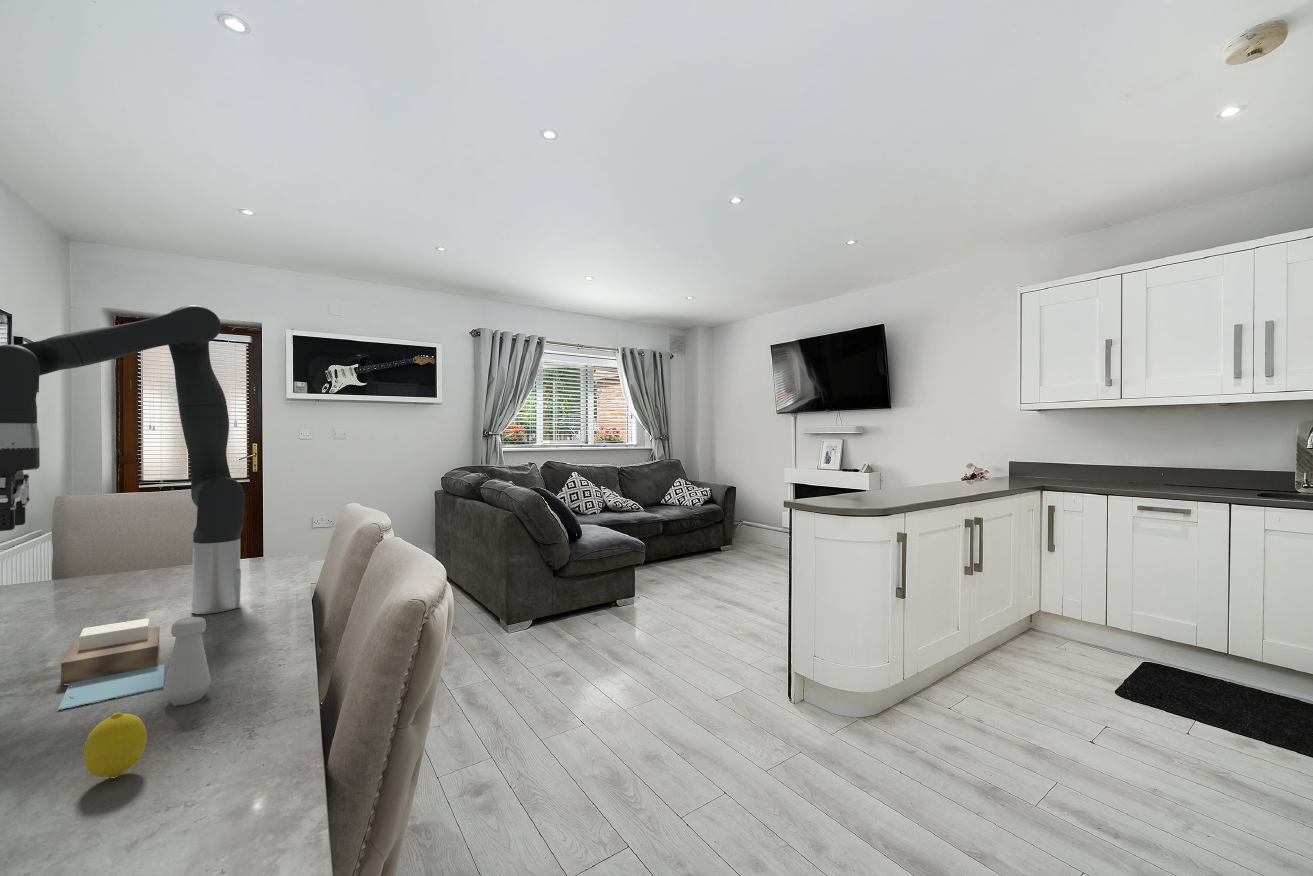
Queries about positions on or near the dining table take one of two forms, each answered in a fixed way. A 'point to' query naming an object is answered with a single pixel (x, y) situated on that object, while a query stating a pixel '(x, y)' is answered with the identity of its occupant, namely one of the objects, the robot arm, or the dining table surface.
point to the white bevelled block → (114, 634)
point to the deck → (109, 659)
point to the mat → (113, 686)
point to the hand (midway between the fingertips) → (11, 527)
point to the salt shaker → (187, 663)
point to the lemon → (115, 745)
